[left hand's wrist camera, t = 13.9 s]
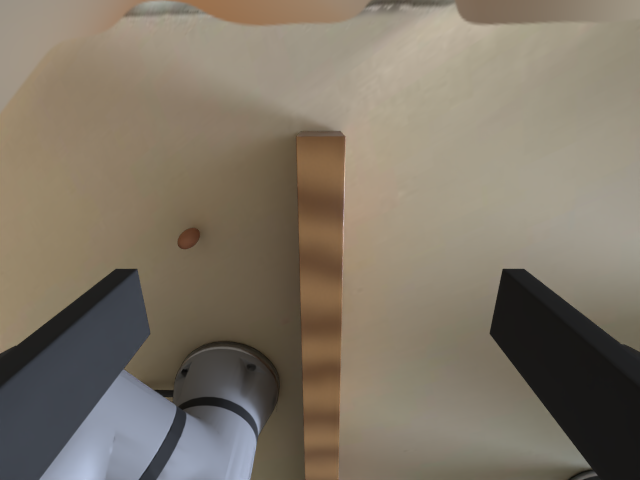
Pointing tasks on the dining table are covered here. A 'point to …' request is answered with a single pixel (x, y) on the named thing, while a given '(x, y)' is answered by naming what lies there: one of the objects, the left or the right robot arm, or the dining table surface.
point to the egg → (188, 238)
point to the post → (321, 293)
